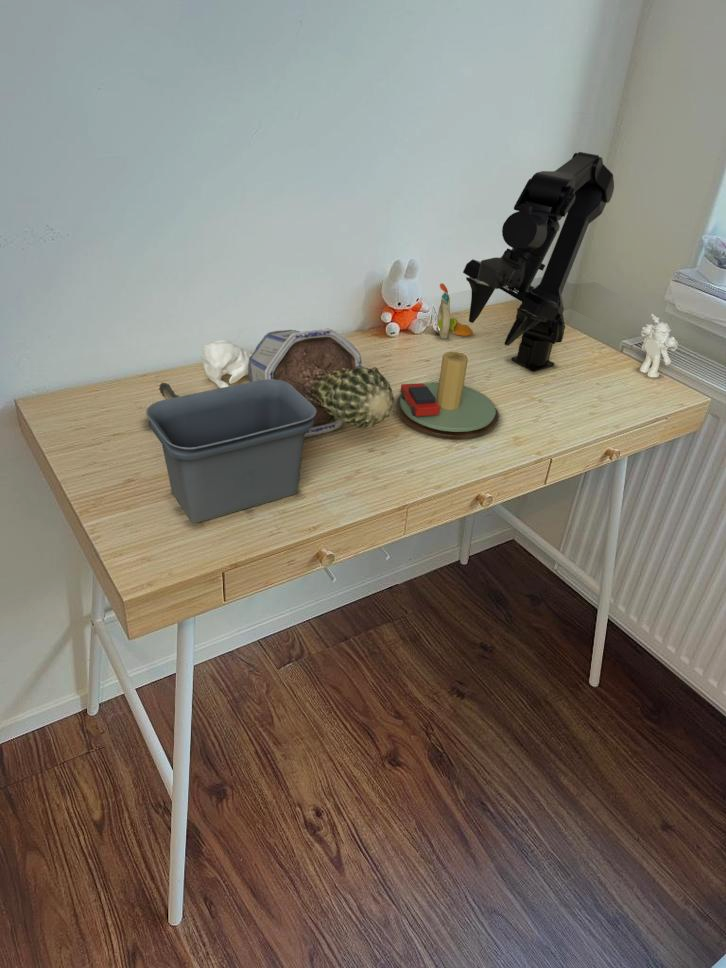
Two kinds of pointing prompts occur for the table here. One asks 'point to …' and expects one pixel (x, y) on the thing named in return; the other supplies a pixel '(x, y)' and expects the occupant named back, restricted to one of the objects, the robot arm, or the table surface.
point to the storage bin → (232, 445)
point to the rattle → (444, 318)
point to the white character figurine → (656, 346)
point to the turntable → (448, 400)
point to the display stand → (445, 434)
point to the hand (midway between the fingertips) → (488, 333)
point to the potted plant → (324, 377)
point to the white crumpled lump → (224, 361)
